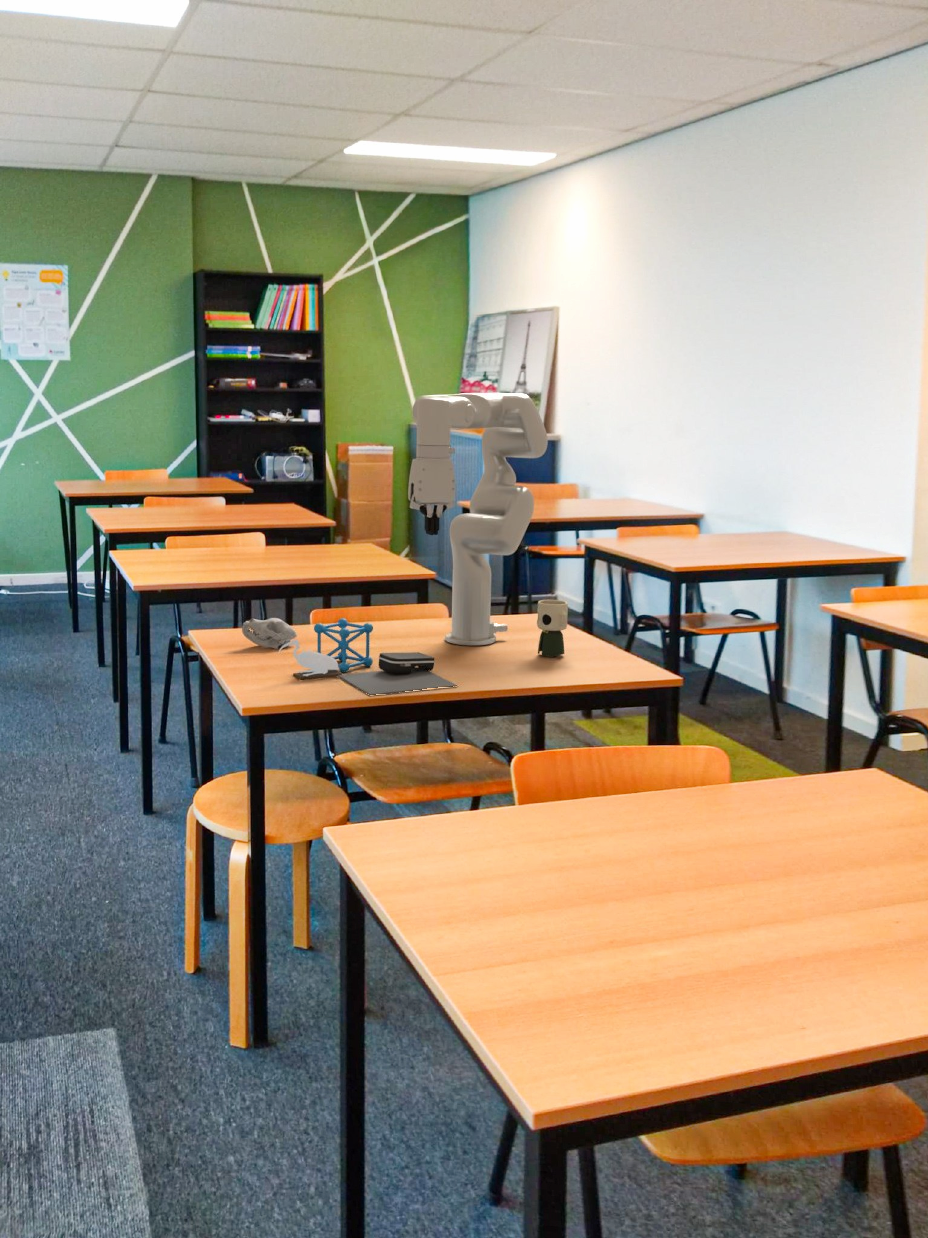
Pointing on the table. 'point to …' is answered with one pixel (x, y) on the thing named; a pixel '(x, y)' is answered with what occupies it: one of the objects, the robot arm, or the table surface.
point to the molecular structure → (346, 642)
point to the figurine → (314, 664)
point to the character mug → (552, 626)
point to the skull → (268, 632)
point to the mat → (395, 681)
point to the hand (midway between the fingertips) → (431, 534)
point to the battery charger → (405, 662)
